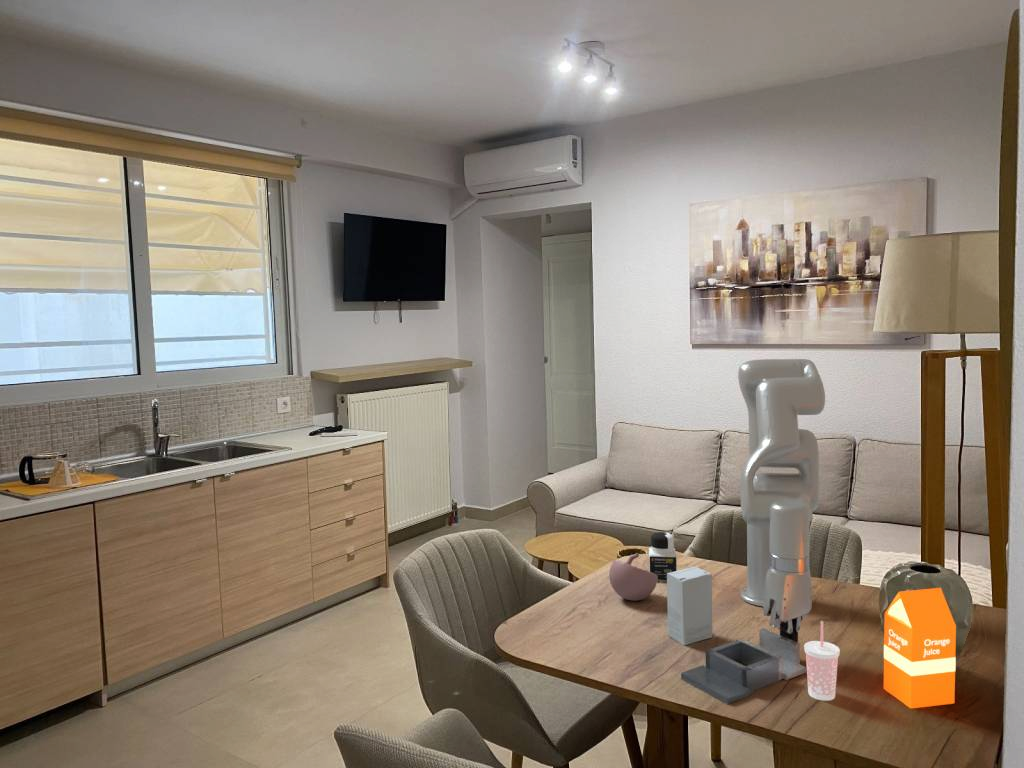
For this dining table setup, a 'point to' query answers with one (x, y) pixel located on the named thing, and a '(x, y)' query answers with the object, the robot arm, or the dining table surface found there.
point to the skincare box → (689, 605)
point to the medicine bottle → (662, 555)
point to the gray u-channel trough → (774, 653)
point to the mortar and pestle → (631, 580)
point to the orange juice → (920, 649)
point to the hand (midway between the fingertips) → (788, 648)
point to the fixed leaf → (731, 673)
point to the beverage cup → (821, 668)
